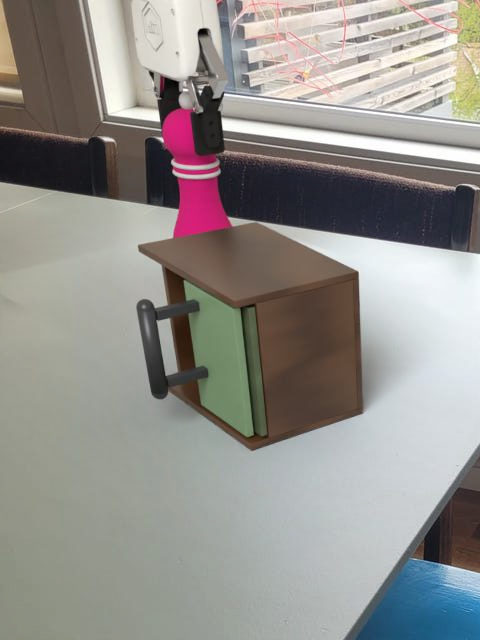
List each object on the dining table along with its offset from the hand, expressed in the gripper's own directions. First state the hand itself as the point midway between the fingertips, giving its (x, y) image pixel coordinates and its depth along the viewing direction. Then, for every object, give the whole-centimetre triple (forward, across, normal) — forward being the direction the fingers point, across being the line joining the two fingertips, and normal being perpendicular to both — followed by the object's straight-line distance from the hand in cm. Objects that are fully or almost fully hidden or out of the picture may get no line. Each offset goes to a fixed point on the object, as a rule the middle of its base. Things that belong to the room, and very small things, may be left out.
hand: (193, 144), depth 105 cm
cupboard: (+15, +28, -10) cm, 33 cm away
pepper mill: (+15, 0, 0) cm, 15 cm away
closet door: (+14, +31, -19) cm, 39 cm away
